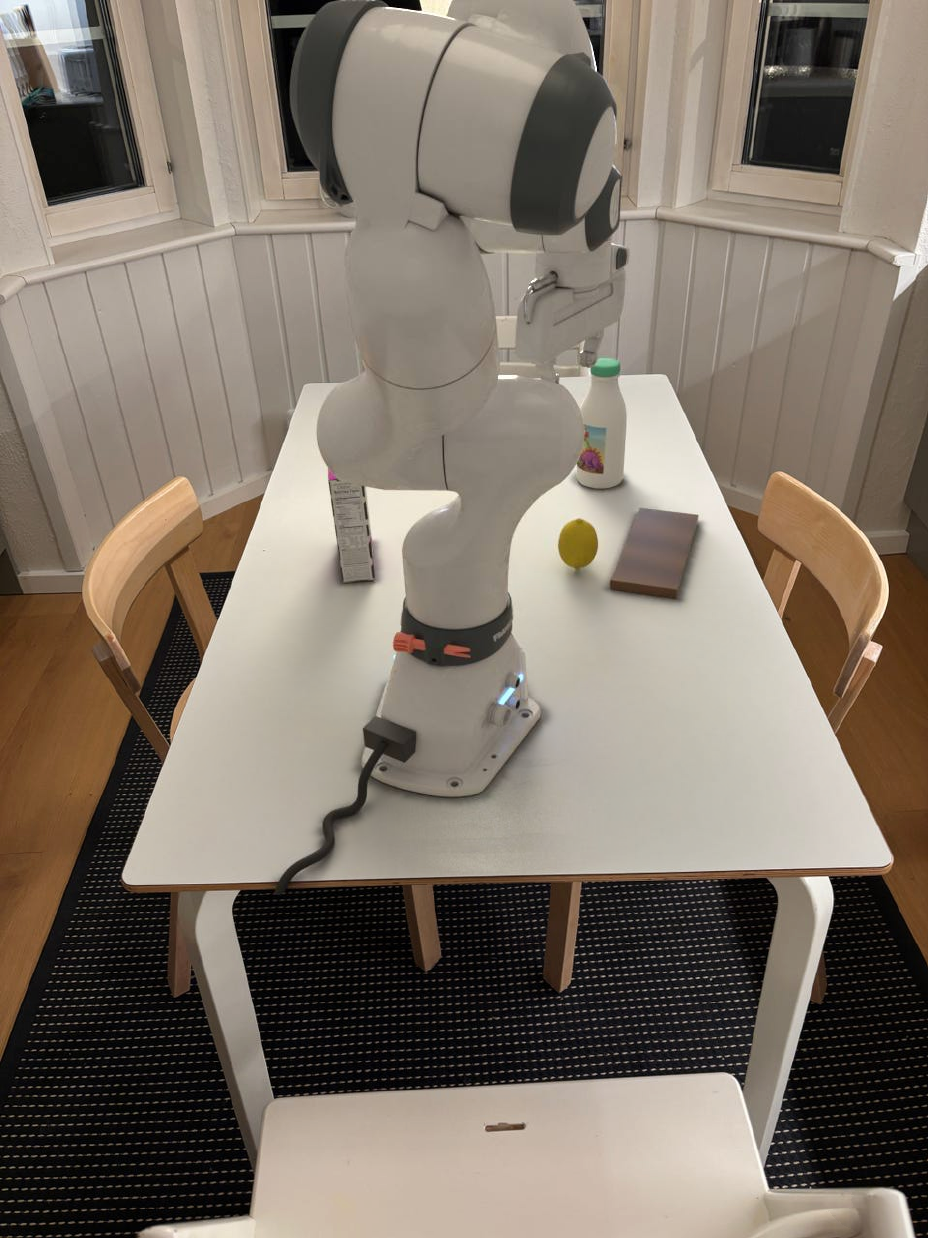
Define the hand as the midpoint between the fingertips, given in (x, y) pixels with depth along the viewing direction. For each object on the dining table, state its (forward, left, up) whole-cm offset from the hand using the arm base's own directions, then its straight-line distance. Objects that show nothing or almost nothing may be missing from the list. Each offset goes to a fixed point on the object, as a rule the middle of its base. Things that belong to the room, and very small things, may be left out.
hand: (569, 377), depth 119 cm
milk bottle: (+30, +1, -28) cm, 41 cm away
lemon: (+1, -2, -28) cm, 28 cm away
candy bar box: (-6, +29, -28) cm, 41 cm away
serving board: (+8, -12, -28) cm, 31 cm away
